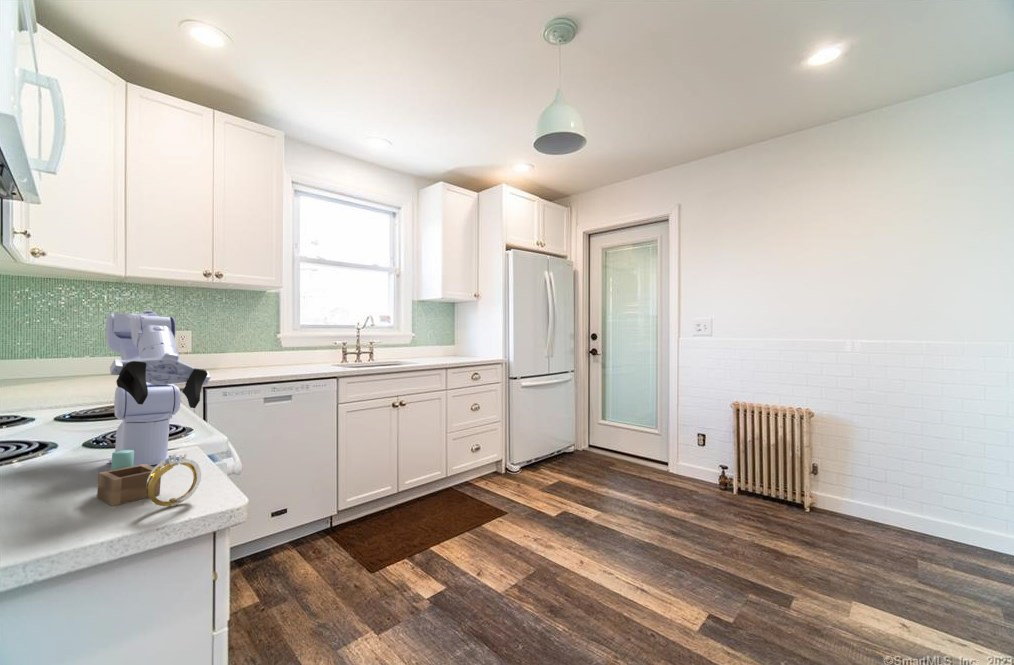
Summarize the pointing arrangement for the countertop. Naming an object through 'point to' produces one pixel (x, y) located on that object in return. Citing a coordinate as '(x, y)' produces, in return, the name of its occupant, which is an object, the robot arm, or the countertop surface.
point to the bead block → (125, 484)
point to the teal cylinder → (122, 459)
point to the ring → (170, 462)
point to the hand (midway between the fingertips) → (170, 401)
